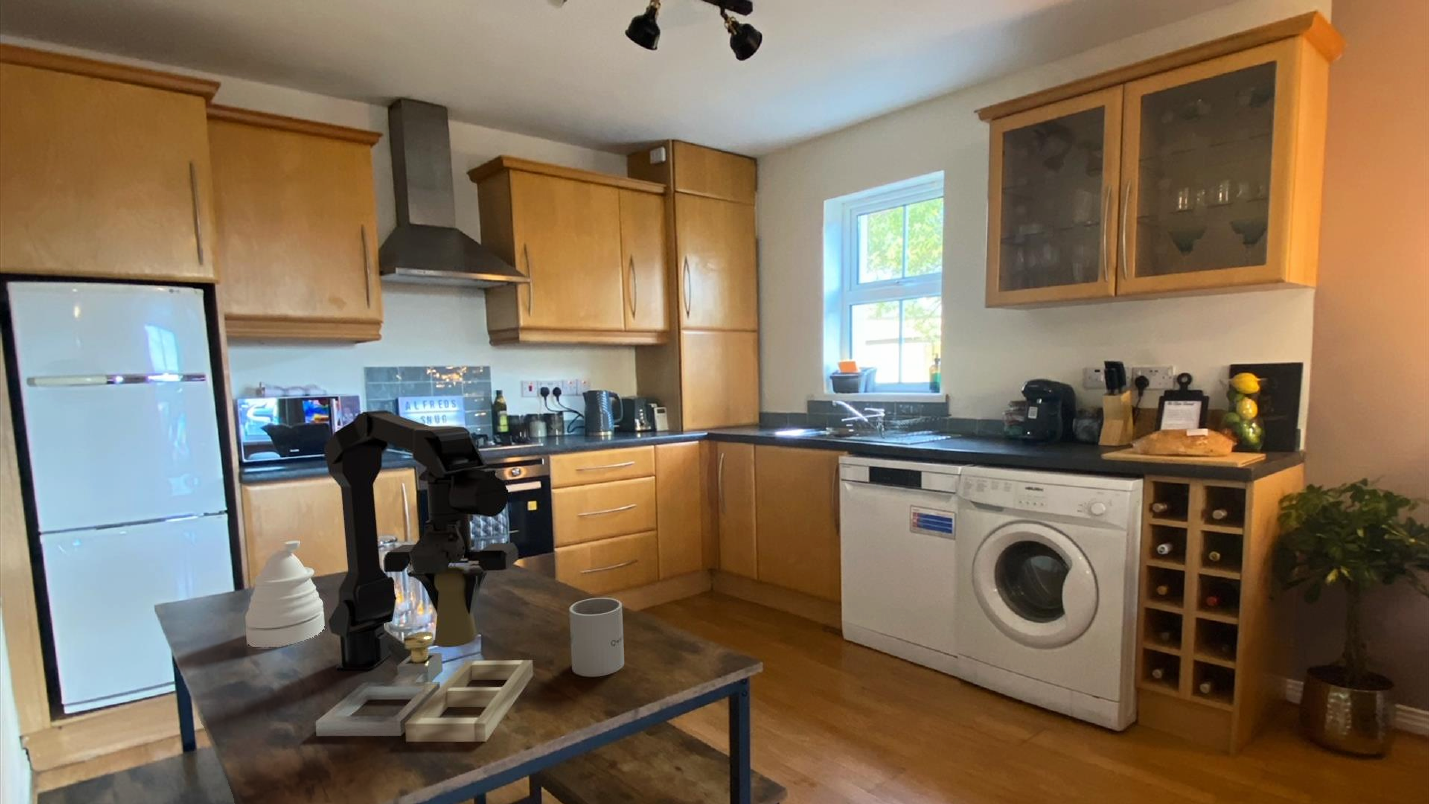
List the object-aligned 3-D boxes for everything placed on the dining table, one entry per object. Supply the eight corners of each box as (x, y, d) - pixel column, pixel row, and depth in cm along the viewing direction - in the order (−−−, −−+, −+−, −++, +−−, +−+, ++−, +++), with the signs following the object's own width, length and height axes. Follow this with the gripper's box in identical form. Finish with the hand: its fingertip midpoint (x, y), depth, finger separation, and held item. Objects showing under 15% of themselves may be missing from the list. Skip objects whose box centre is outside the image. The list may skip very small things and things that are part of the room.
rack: (406, 741, 94) (405, 723, 94) (467, 675, 114) (466, 660, 114) (485, 741, 93) (485, 723, 93) (533, 675, 113) (532, 660, 113)
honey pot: (330, 619, 143) (325, 532, 142) (316, 642, 131) (310, 547, 130) (258, 628, 139) (252, 539, 138) (237, 653, 127) (230, 555, 126)
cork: (462, 648, 102) (458, 574, 101) (425, 646, 103) (421, 573, 103) (484, 632, 108) (480, 562, 107) (450, 631, 109) (446, 561, 109)
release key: (400, 680, 112) (398, 642, 111) (414, 668, 116) (412, 631, 116) (427, 680, 111) (425, 642, 111) (439, 668, 116) (437, 631, 116)
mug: (606, 679, 111) (604, 618, 110) (561, 672, 114) (559, 612, 114) (643, 649, 122) (641, 593, 122) (601, 643, 125) (599, 589, 125)
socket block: (316, 735, 96) (315, 714, 96) (393, 671, 117) (392, 653, 116) (400, 735, 96) (399, 714, 95) (463, 670, 116) (462, 652, 116)
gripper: (358, 524, 97) (365, 634, 98) (488, 521, 96) (493, 633, 97) (400, 508, 109) (406, 606, 109) (516, 505, 107) (522, 605, 108)
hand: (454, 613), depth 105 cm, fingers closed on cork, 4 cm apart
